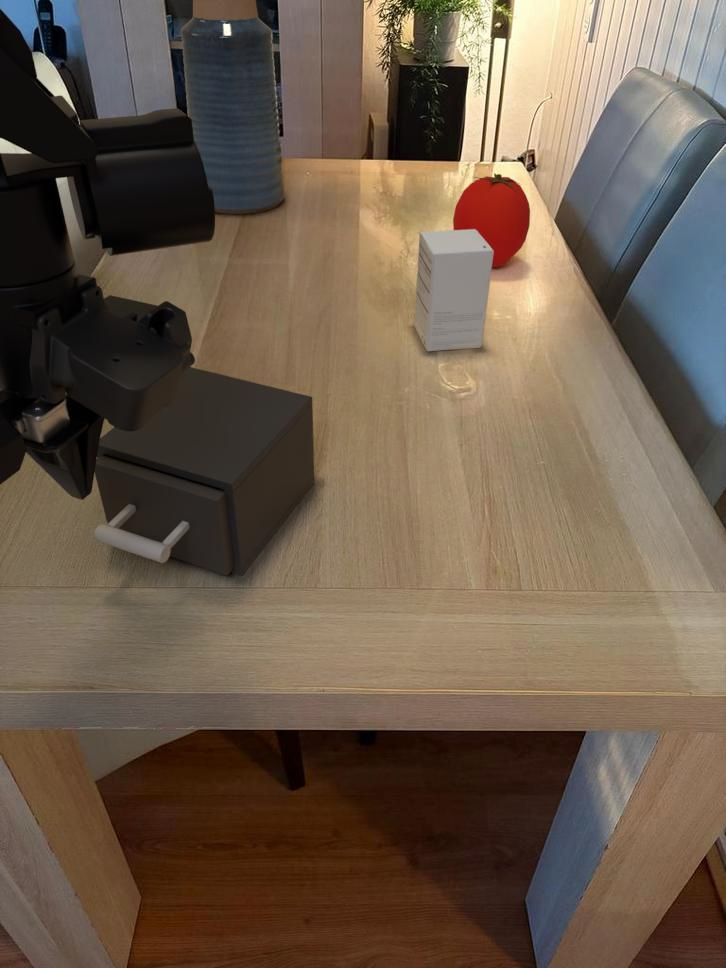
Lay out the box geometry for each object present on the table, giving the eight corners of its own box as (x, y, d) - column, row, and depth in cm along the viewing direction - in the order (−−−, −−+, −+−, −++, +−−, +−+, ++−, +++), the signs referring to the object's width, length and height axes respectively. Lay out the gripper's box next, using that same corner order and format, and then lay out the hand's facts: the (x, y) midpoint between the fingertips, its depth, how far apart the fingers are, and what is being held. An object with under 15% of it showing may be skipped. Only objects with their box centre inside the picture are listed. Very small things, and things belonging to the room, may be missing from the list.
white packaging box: (466, 322, 98) (477, 227, 91) (482, 349, 93) (495, 250, 85) (412, 325, 97) (418, 229, 90) (424, 352, 92) (433, 252, 84)
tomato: (496, 245, 121) (508, 159, 113) (539, 273, 112) (555, 182, 104) (433, 254, 117) (440, 166, 109) (472, 284, 108) (483, 190, 100)
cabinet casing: (242, 576, 61) (232, 484, 55) (115, 534, 65) (93, 443, 59) (314, 483, 71) (312, 396, 65) (201, 450, 74) (189, 366, 69)
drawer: (198, 612, 56) (185, 535, 52) (77, 568, 60) (54, 493, 55) (297, 487, 69) (294, 416, 64) (192, 457, 72) (182, 387, 67)
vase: (179, 196, 137) (153, -8, 117) (256, 182, 145) (244, -12, 125) (221, 222, 127) (200, 2, 107) (301, 205, 135) (296, -2, 115)
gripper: (6, 380, 30) (87, 634, 40) (240, 234, 44) (258, 450, 53) (-187, 327, 33) (-69, 574, 43) (87, 206, 47) (129, 414, 57)
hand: (81, 495), depth 49 cm, fingers closed
